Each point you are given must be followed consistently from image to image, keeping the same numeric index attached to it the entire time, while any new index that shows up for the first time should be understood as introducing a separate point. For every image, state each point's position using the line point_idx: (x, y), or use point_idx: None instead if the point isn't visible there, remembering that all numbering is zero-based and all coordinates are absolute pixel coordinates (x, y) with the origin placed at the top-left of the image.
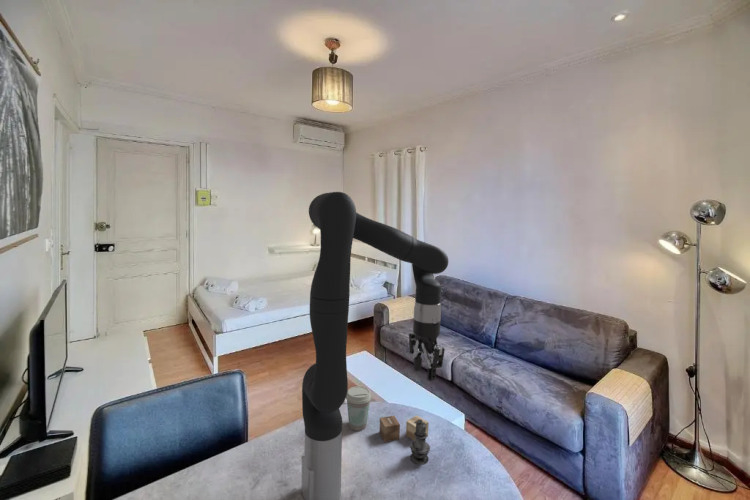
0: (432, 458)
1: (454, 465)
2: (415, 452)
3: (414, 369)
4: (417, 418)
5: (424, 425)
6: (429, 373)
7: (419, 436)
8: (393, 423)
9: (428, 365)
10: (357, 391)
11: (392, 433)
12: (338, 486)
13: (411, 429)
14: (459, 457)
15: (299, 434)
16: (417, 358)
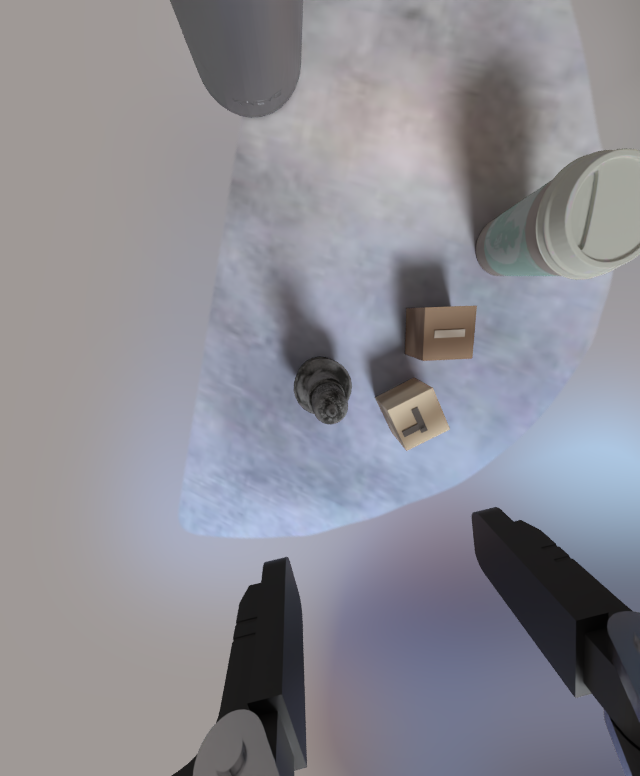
0: None
1: (276, 452)
2: (303, 366)
3: (490, 511)
4: (433, 425)
5: (319, 417)
6: (259, 631)
7: (314, 389)
8: (433, 341)
9: (256, 749)
10: (621, 206)
11: (413, 333)
12: (204, 69)
13: (406, 393)
14: (299, 475)
15: (527, 19)
16: (583, 648)
